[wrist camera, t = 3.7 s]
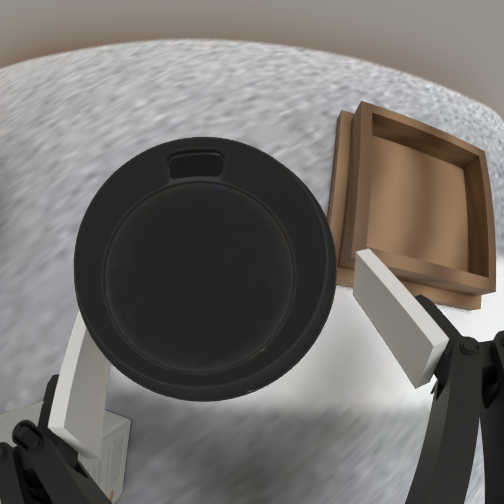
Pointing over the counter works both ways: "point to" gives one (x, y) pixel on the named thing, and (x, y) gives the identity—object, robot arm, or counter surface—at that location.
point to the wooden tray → (413, 206)
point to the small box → (101, 470)
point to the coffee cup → (204, 269)
